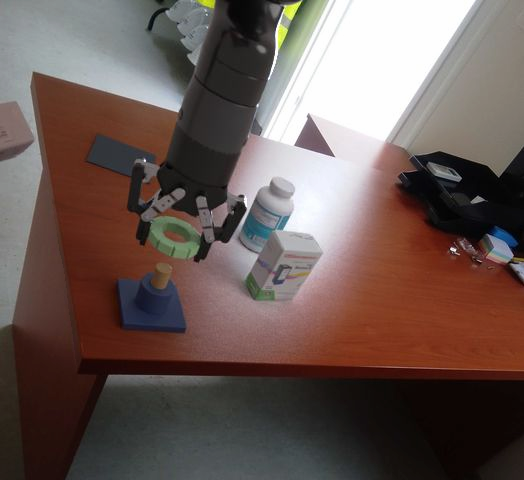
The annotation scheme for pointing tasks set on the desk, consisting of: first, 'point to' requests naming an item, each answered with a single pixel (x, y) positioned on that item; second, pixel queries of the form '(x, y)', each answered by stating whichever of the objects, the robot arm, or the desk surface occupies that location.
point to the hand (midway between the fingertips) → (169, 250)
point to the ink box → (283, 265)
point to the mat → (116, 155)
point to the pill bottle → (268, 213)
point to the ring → (170, 246)
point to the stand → (151, 302)
